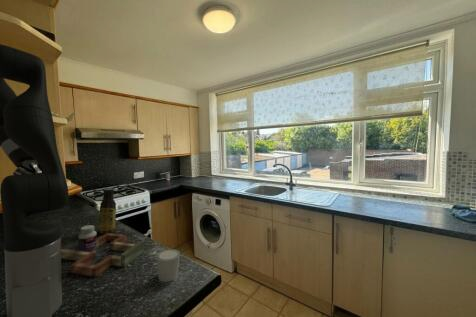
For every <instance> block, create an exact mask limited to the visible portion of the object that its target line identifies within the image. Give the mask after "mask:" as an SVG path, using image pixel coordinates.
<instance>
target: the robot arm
mask: <svg viewBox="0 0 476 317" xmlns="http://www.w3.org/2000/svg"><path fill="white" fill-rule="evenodd" d="M46 71H47V70H46V65H45V63H44V61H43V59H42V58H40V57H39V56H37V55H35V54H32V53H30V52H28V51H23V50H20V49H17V48H15V47H13V46H9V45H6V44H2V43H0V147H1V149H2V151H3V152H4V154H5V155H6V156H7V158H8V159H9V160H10V161H11V163H12V164H13V165H14V166H15V167H16V169H15V170H14V171H13V172H12V174H11V175H7V176H5V177H4V178H3V179H2V181H1V184H0V203H1V211H2V218H3V219H2V220H3V232H4V233H3V234H4V236H3V237H4V239H3V240H4V241H3V242H4V243H3V244H4V245H3V246H4V247H3V250H4V273H5V274H4V276H5V277H4V279H5V280H4V281H5V300H6V301H5V304H6V317H53V315H54V314H55V313H56V312H57V311H58V310H59V309H60V307H61V306H62V304H63V292H62V291H63V289H62V288H63V287H62V284H63V283H62V280H63V279H62V259H61V249H62V237H61V236H62V235H61V234H62V230H61V226H60V225H59V224H56V223H53V222H43V221H41V222H39V221H33V220H31V219H27V218H25V217H26V216H29V215H36V214H39V213H40V214H41V213H48V212H53V211H57V210H61V209H63V208H65V207H66V206H67V204H68V202H69V188H68V183H67V179H66V174H65V171H64V169H63V168H64V167H63V164H62V162H61V158H60V154H59V150H58V145H57V138H56V131H55V125H54V119H53V115H52V111H51V106H50V102H49V97H48V96H49V95H48V89H47V88H48V86H47V73H46ZM6 80H8V81H12V82H17V83H21V84H25V85H28V86H29V87H28V88H27V89H26V90H25V91H23V92H22V93H20V94H18V95H17V94H16V93H15V91H14V90H13V88H11V86H10V85H9V84H8V83H7V81H6Z"/></svg>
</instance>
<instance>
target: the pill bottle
mask: <svg viewBox="0 0 476 317" xmlns="http://www.w3.org/2000/svg"><path fill="white" fill-rule="evenodd" d="M97 235H98V234H97V231H96V230H95V225H91V224H90V225H89V224H88V225H84V226H82V227H80V233H79V235H78V239H77V240H78V249H77V251H82V252H90V253H95V254H96V252H97V248H98V247H97V239H98V238H97Z"/></svg>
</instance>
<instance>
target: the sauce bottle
mask: <svg viewBox="0 0 476 317" xmlns="http://www.w3.org/2000/svg"><path fill="white" fill-rule="evenodd" d="M114 192H115V189H114V188H112V187H109V188H108V187H107V188H103V193H102V194H103V198H102V201H101V202H100V205H99V214H98V215H99V216H98V219H99V220H98V233H99V234H101V235H105V234H107V233H111V234H113V232H114V231H115V229H116V216H117V215H116V214H117V213H116V212H117V208H116V207H117V206H116V205H117V203H116V201H115V199H114Z"/></svg>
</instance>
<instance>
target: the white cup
mask: <svg viewBox="0 0 476 317" xmlns="http://www.w3.org/2000/svg"><path fill="white" fill-rule="evenodd" d="M180 257H181V252H180V251H179V250H178V249H175V248H174V249H173V248H169V249H164V250H161V251H160V252H159V253H157V255H156V263H157V272H158V280H159V281H160V282H161V283H162V282H163V283H169V282H173V281H174V280H175V279H177V278H178V276H179V275H178V273H179V265H180Z"/></svg>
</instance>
